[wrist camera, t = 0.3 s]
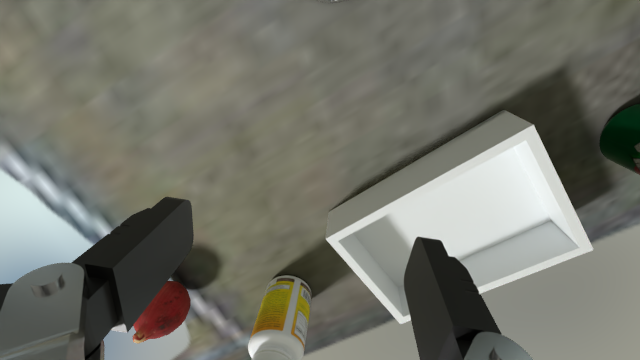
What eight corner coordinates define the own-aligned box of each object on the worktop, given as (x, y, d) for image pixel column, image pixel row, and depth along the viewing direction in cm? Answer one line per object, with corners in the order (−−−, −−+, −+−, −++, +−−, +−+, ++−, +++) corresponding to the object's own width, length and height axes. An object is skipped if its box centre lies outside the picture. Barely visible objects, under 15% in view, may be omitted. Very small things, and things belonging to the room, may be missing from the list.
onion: (194, 266, 36) (156, 324, 29) (205, 300, 38) (172, 361, 31) (150, 265, 37) (101, 322, 29) (164, 298, 39) (122, 358, 32)
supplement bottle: (260, 292, 37) (229, 378, 28) (280, 265, 34) (255, 349, 25) (298, 312, 38) (281, 401, 29) (321, 286, 35) (310, 375, 26)
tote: (328, 211, 30) (325, 238, 26) (503, 109, 24) (533, 124, 20) (394, 290, 34) (400, 324, 30) (559, 219, 28) (593, 249, 24)
